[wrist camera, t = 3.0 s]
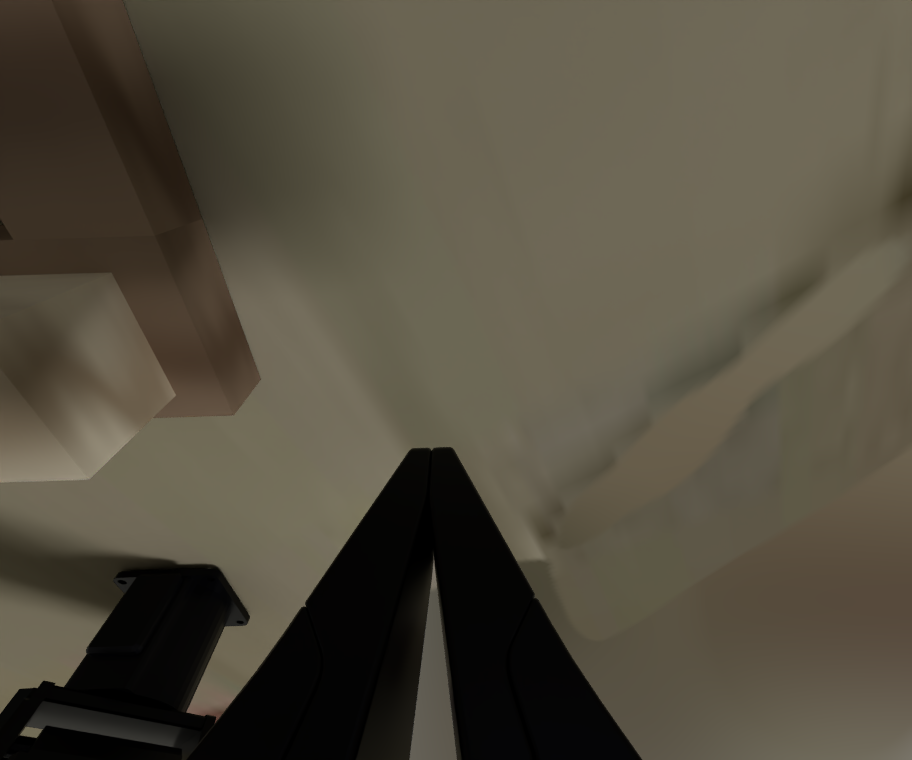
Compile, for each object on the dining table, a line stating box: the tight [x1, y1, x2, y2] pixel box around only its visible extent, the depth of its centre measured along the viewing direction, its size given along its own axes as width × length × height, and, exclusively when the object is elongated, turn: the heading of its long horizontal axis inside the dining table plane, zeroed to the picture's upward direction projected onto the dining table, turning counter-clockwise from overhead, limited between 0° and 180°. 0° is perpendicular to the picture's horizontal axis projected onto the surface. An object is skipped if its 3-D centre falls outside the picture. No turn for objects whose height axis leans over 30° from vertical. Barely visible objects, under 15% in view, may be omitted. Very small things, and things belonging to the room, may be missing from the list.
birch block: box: [0, 273, 176, 483], centre depth 11 cm, size 4×4×4 cm
